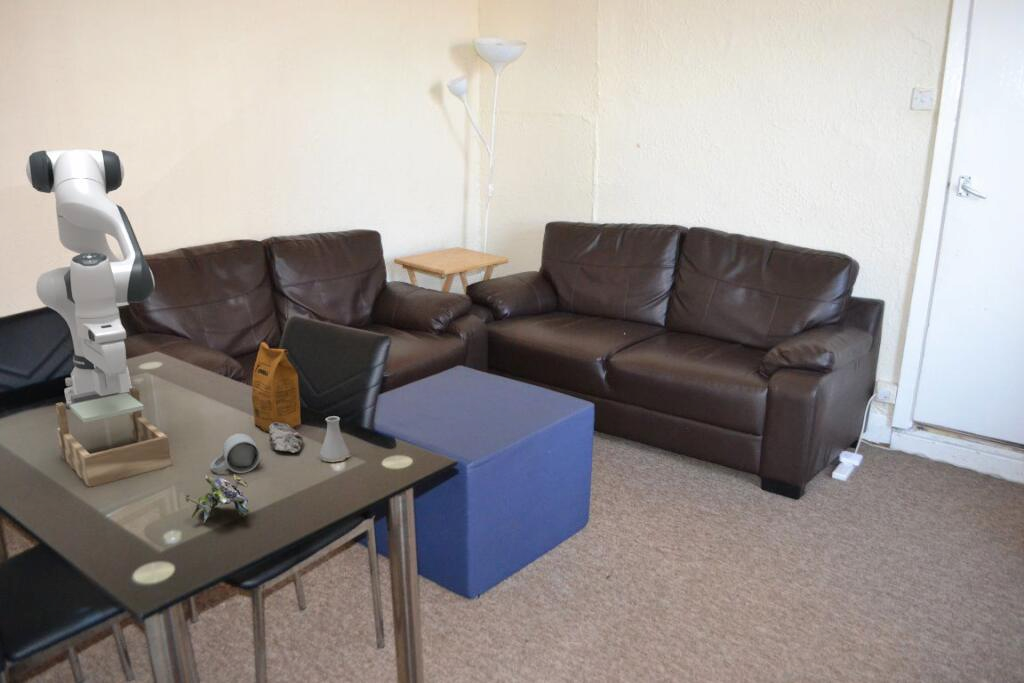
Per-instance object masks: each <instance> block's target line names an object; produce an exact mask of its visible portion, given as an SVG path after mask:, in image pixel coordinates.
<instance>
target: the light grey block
mask: <svg viewBox="0 0 1024 683" xmlns="http://www.w3.org/2000/svg"><path fill="white" fill-rule="evenodd" d="M92 374H93V380H94V387H95V392H96V393H98V394H99V395H100V396H104V395H109V394H114V393H118V392H121V385H120V378H119V375H116V380H115V382H116V387H115V388H113V389H108V388H107V387H106V384H105V381H106V375H105V372H104V371H102V370H101V369H100V368H99V369H94V370H92Z"/></svg>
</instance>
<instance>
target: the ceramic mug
mask: <svg viewBox="0 0 1024 683" xmlns="http://www.w3.org/2000/svg"><path fill="white" fill-rule="evenodd" d="M222 448H223V449H222V451H223V454H221V455H220V456H218V457H216V458H215V459H214V460H213V461H212V462H211V463H210V469H211V471H212V472H213V473H214V474H216V473H217V474H219V473H221V472H223V471H226V470H228V469H229V470H230V471H232V472H233V473H235V474H236V473H237V474H246V473H249V472H251V471H253V470H254V469H255V468H256V467H257V466H258V464H259V463H260V459H261V451H260V449H259V447H258V445H257V444H256V442H255V441H254V440H253V438H252V437H251V436H250V435H247V434H245V433H234V434H232V435H230V436H229V437H228V438H227V439H226V440H225V442H224V444H223V447H222Z"/></svg>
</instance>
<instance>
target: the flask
mask: <svg viewBox="0 0 1024 683" xmlns="http://www.w3.org/2000/svg"><path fill="white" fill-rule="evenodd" d="M340 420H341V418H340V417H339V416H335V415H333V416H328V417H326V418H325V422H326V432H325V433H326V434H325V436H324V440H323V442H322V443H323V444H322V446H321V449H320V452H319V455H320V456H321V458H322V459H326V460H334V459H337V458H342V457H344V456H345V455H347V454H348V453H350V450H349V449H348V446H347V445H346V443H345V440H344V438H343V434H342V433H341V429H340ZM319 455H318V456H319Z"/></svg>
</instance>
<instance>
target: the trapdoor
mask: <svg viewBox="0 0 1024 683" xmlns="http://www.w3.org/2000/svg"><path fill="white" fill-rule="evenodd" d="M71 402H72V403H71V404H67V403H66V404H65V408H66V411H67V410H70V411H71V412H72V413H73V414H74V416H76V417H78V419H80V420H81V422H83V423H84V424H85V423H90V422H94V421H97V420H102V419H108V418H112V417H116V416H121V415H126V414H129V413H130V412H135V411H139V410H141V411H143V410H145V405H144V404H142V403H141V401H140V402H139V401H137V400H136V399H135V398H133V397H132V396H131V395H130V393H129V392H125V393H120V394H119V392H118V393H114V394H109V395H104V396H100V395H99V394H98V393H96V392H95V391H92V392H87V393H82V394H77V395H72V396H71Z"/></svg>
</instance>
